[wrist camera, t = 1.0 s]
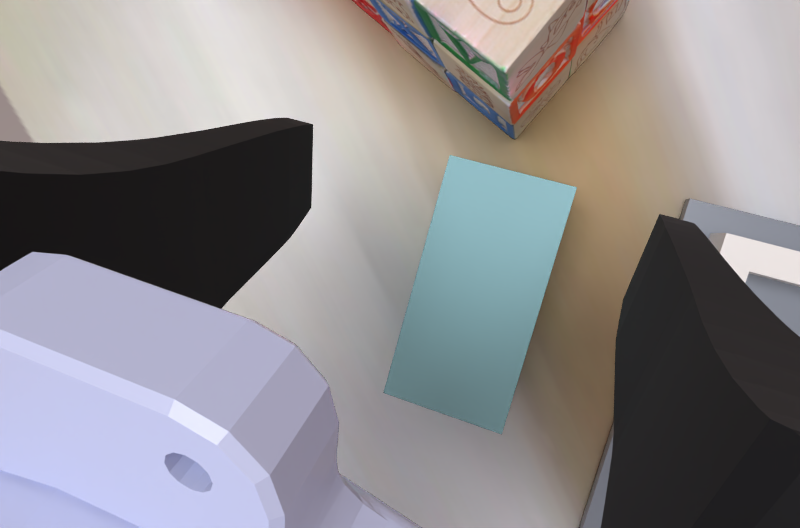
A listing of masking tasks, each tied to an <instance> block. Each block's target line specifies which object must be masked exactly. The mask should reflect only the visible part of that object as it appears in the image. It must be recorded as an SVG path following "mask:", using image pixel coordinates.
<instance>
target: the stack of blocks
mask: <svg viewBox="0 0 800 528" xmlns="http://www.w3.org/2000/svg"><path fill="white" fill-rule="evenodd" d="M352 1H354V2H355V3H356V4H357V5H358V6H359V7H360V8H361V9H363V10H364V11H365V12H366V13H367V14H368V15H370V16H371V17H372V18H373V19H374V20H376V21H377V22H378V23H379V24H381V25H382V26H383V27H384V28H385V29H386V30H388V31H389V32H390V33H391V34H392V35H393V36H394V37H395V39H396V40H397V41H398V43H399V44H400V45H401V47H403V48H404V49H405V50H406V51H407V52H408V53H410V54H411V55H412V56H413V57H414V58H415V59H417V60H418V61H419V62H420V63H421V64H422V65H424V66H425V67H426V68H427V69H428V70H430V71H431V72H432V73H433V74H434V75H435V76H437V77H438V78H439V79H440V80H441V81H443V82H444V83H445V84H446V85H447V86H448V87H450V88H451V89H452V90H454V91H456V92H458V93H459V94H460V95H461V96H462V97H463V98H465V99H466V100H467V101H468V102H469V103H470V104H472V105H473V106H474V107H475V108H476V109H477V110H479V111H480V112H481V113H482V114H483V115H485V116H486V117H487V118H488V119H489V120H491V121H492V122H493V123H494V124H495V125H497V126H498V127H499V128H500V129H502V130H503V131H504V132H505V133H506V134H507V135H509V136H510V137H511V138H513V139H516V138H517V137H518V136H519V135H520V134H521V133H522V131H523V130H524V129H525V128H526V127H527V126H528V124H529V123H530V122H531V121H532V120H533V119H534V118H535V116H536V115H537V114H538V113H539V112H540V111H541V109H542V108H543V107H544V106H545V105H546V104H547V103H548V101H549V100H550V99H551V98H552V97H553V96H554V95H555V93H556V92H557V91H558V90H559V89H560V88H561V86H562V85H563V84H564V83H565V82H566V80H567V79H568V78H569V77H570V76H571V75H572V74H573V73H574V72H575V71H576V70H577V69H578V68H579V67H580V66H581V64H582V63H583V62H584V61H585V60H586V59H587V58H588V57H589V55H590V54H591V53H592V52H593V51H594V50H595V48H596V47H597V46H598V45H599V44H600V43H601V41H602V40H603V39H604V38H605V37H606V35H607V34H608V33H609V32H610V31H611V29H612V28H613V27H614V26H615V24H616V23H617V22H618V20H619V19H620V18H621V16H622V15H623V13H624V12H625V10H626V7H627V5H628V2H629V0H352Z"/></svg>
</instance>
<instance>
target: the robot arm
mask: <svg viewBox="0 0 800 528" xmlns="http://www.w3.org/2000/svg"><path fill="white" fill-rule="evenodd" d="M312 148H313V124H309V123H305V122H302V121H298V120H294V119H290V118H273V119H265V120H258V121H252V122H246V123H240V124H235V125H230V126H224V127H219V128H213V129H208V130H203V131H196V132H190V133H183V134H177V135H171V136H164V137H158V138H149V139H140V140H129V141H115V142H99V143H30V142H9V141H0V528H422V527H420V526H418V525H417V524H415V523H414V522H412V521H411V520H409V519H408V518H406V517H405V516H403V515H402V514H400V513H399V512H397V511H396V510H394V509H393V508H391V507H390V506H388V505H387V504H385V503H384V502H382V501H380V500H379V499H377V498H376V497H374V496H373V495H371V494H370V493H368V492H367V491H365V490H364V489H362V488H361V487H359V486H358V485H356V484H355V483H353V482H352V481H350V480H349V479H347V478H346V477H344V476H342V475H340V473H339V471H338V466H337V444H338V430H339V421H338V418H337V414H336V410H335V406H334V403H333V399H332V395H331V391H330V388H329V385H328V383H327V381H326V379H325V378H324V377H323V376H322V374H321V373H320V372H319V371H318V370H317V369H316V367H315V366H314V365H313V364H312V363H311V361H310V360H309V359H308V358H307V357H306V356H305V354H304V353H303V352H302V351H301V350H300V349H299V347H298V346H297V345H296V344H294V343H293V342H291V341H289V340H287V339H286V338H284V337H282V336H281V335H279V334H277V333H275V332H274V331H272V330H270V329H268V328H267V327H265V326H263V325H261V324H260V323H258V322H256V321H254V320H251V319H248V318H245V317H243V316H240V315H237V314H234V313H231V312H228V311H226V310H223V309H221V308H222V307H223V306H224V305H225V304H226V303H227V302H228V300H229V299H230V298H231V297H232V296H233V295H234V294H235V293H236V292H237V291H238V290H239V289H240V288H241V287H242V286H243V285H244V284H245V283H246V282H247V281H248V280H249V279H250V278H251V277H252V276H253V275H254V274H255V273H256V272H257V271H258V270H259V269H260V268H261V267H262V266H263V265H264V264H265V263H266V262H267V261H268V260H269V259H270V258H271V257H272V256H273V255H274V254H275V253H276V252H277V251H278V250H279V249H280V248H281V247H282V246H283V245H284V244H285V243H286V242H287V240H288V239H289V238H290V237H291V236H292V234H293V233H294V232H295V230H296V229H297V228H298V226H299V225H300V223H301V222H302V220H303V219H304V217H305V216H306V214H307V213H308V211H309V210H310V208H311V196H312ZM601 528H800V337H799V336H798V335H797V334H796V333H795V332H793V331H792V330H791V329H790V328H789V327H788V326H787V325H786V324H785V323H783V322H782V321H781V320H780V319H779V318H778V317H777V316H776V315H775V314H774V313H773V312H772V311H771V310H770V309H769V308H768V307H767V306H766V305H765V304H764V303H763V302H762V301H761V300H760V299H759V298H758V297H757V296H756V295H755V293H754V292H753V291H752V290H751V289H750V288H749V287H748V286H747V285H746V284H745V282H744V281H743V280H742V279H741V278H740V277H739V276H738V274H737V273H736V272H735V271H734V270H733V268H732V267H731V266H730V265H729V264H728V262H727V261H726V260H725V259H724V258H723V256H722V255H721V254H720V253H719V251H718V250H717V249H716V248H715V247H714V245H713V244H712V243H711V242H710V240H709V239H708V238H707V237H706V235H705V234H704V233H703V232H702V231H701V230H700V229H699V227H698V226H697V225H696V224H694V223H692V222H688V221H684V220H680V219H677V218H673V217H669V216H665V215H661V214H659V217H658V219H657V221H656V224H655V226H654V228H653V231H652V233H651V235H650V238H649V240H648V242H647V245H646V247H645V249H644V252H643V254H642V257H641V259H640V261H639V264H638V266H637V268H636V271H635V273H634V275H633V278H632V280H631V282H630V285H629V287H628V289H627V292H626V294H625V296H624V299H623V303H622V309H621V314H620V319H619V325H618V331H617V337H616V351H615V390H614V434H613V447H612V457H611V464H610V471H609V478H608V485H607V491H606V498H605V504H604V510H603V517H602V523H601Z"/></svg>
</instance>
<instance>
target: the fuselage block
mask: <svg viewBox="0 0 800 528" xmlns="http://www.w3.org/2000/svg"><path fill="white" fill-rule="evenodd" d="M576 189H577V187H574V186H570V185H566V184H562V183H558V182H554V181H550V180H546V179H542V178H538V177H534V176H530V175H526V174H522V173H519V172H515V171H511V170H507V169H503V168H499V167H495V166H491V165H487V164H483V163H479V162H475V161H471V160H467V159H463V158H459V157H456V156H452V155H450V156H449V160H448V164H447V167H446V171H445V174H444V178H443V181H442V185H441V189H440V192H439V196H438V199H437V203H436V206H435V210H434V214H433V217H432V221H431V224H430V228H429V231H428V235H427V239H426V242H425V246H424V249H423V253H422V257H421V260H420V264H419V267H418V271H417V274H416V278H415V282H414V285H413V289H412V292H411V296H410V299H409V303H408V307H407V310H406V314H405V317H404V321H403V324H402V328H401V332H400V335H399V339H398V342H397V346H396V350H395V353H394V357H393V360H392V364H391V367H390V371H389V375H388V378H387V382H386V385H385V389H384V392H383V393H385V394H388V395H391V396H394V397H397V398H400V399H402V400H405V401H408V402H411V403H414V404H417V405H420V406H422V407H425V408H428V409H431V410H434V411H437V412H439V413H442V414H445V415H448V416H451V417H454V418H457V419H459V420H462V421H465V422H468V423H471V424H474V425H476V426H479V427H482V428H485V429H488V430H491V431H494V432H496V433H499V434H502V432H503V428H504V425H505V422H506V418H507V415H508V412H509V409H510V405H511V402H512V399H513V395H514V392H515V389H516V386H517V382H518V379H519V376H520V372H521V369H522V366H523V363H524V359H525V356H526V353H527V349H528V346H529V343H530V340H531V336H532V333H533V330H534V326H535V323H536V320H537V317H538V313H539V310H540V307H541V303H542V300H543V297H544V294H545V290H546V287H547V284H548V281H549V277H550V274H551V271H552V267H553V264H554V261H555V258H556V254H557V251H558V248H559V244H560V241H561V238H562V235H563V231H564V228H565V225H566V221H567V218H568V215H569V212H570V208H571V205H572V202H573V198H574V195H575V192H576Z"/></svg>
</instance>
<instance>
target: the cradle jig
mask: <svg viewBox="0 0 800 528" xmlns="http://www.w3.org/2000/svg"><path fill="white" fill-rule="evenodd" d="M680 220H684V221H688V222H692V223H694V224H696V225H697V226H698V227H699V229H700V230H701V231H702V232H703V233H704V234H705V235H706V237H707V238H708V239H709V240H710V242H711V243H712V244H713V245H714V247H715V248H716V249H717V250H718V251H719V253H720V254H721V255H722V256H723V258H724V259H725V260H726V261H727V262H728V264H729V265H730V266H731V267H732V268H733V270H734V271H735V272H736V273H737V274H738V276H739V277H740V278H741V279H742V280H743V281H744V282H745V284H746V285H747V286H748V287H749V288H750V289H751V290H752V291H753V292H754V293H755V295H756V296H757V297H758V298H759V299H760V300H761V301H762V302H763V303H764V304H765V305H766V306H767V307H768V308H769V309H770V310H771V311H772V312H773V313H774V314H775V315H776V316H777V317H778V318H779V319H780V320H781V321H782V322H783V323H785V324H786V325H787V326H788V327H789V328H790V329H791V330H792V331H793V332H795V333H796V334H797V335H798V336H799V337H800V226H799V225H795V224H791V223H787V222H783V221H779V220H775V219H771V218H767V217H762V216H758V215H754V214H750V213H746V212H742V211H738V210H734V209H730V208H726V207H722V206H718V205H714V204H710V203H706V202H702V201H698V200H694V199H686V201H685V204H684V207H683V210H682V213H681V216H680ZM613 434H614V422H613V425H612V428H611V431H610V434H609V438H608V441H607V444H606V447H605V450H604V453H603V456H602V459H601V462H600V465H599V468H598V471H597V474H596V478H595V481H594V484H593V487H592V490H591V493H590V496H589V499H588V502H587V505H586V508H585V511H584V514H583V518H582V521H581V524H580V527H579V528H601V523H602V517H603V510H604V504H605V498H606V491H607V485H608V478H609V471H610V464H611V457H612V447H613Z"/></svg>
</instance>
